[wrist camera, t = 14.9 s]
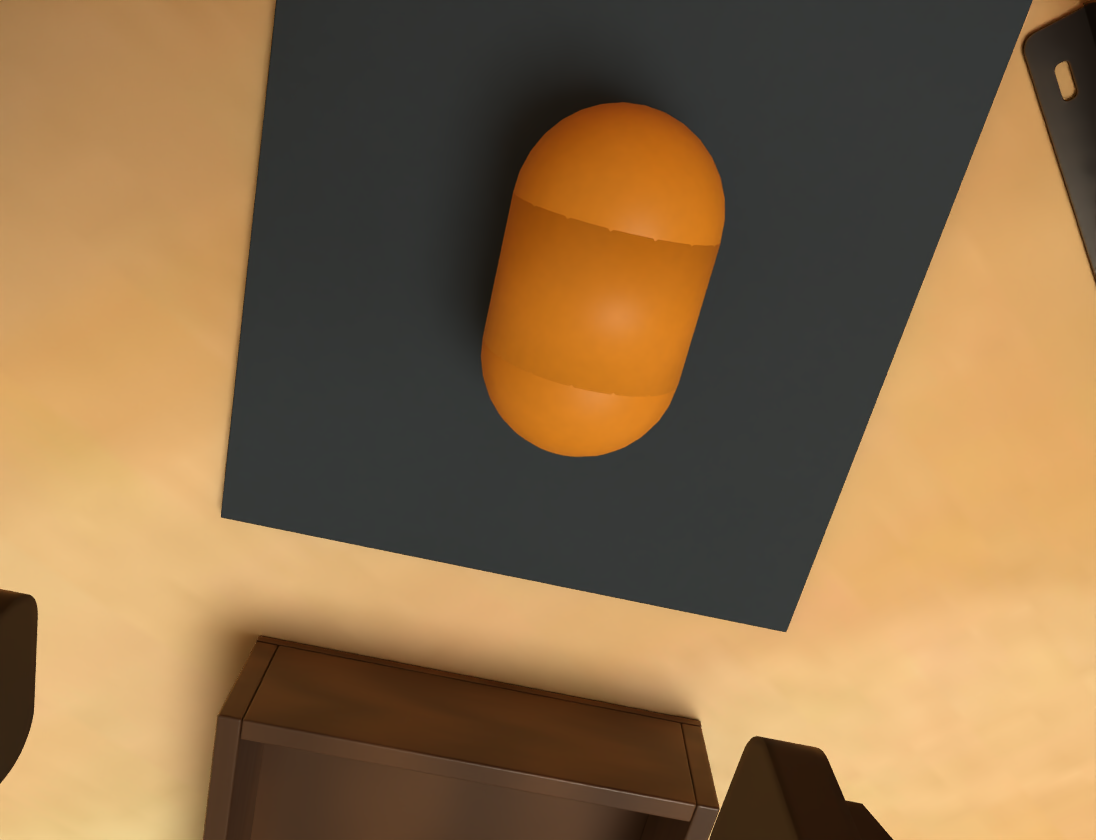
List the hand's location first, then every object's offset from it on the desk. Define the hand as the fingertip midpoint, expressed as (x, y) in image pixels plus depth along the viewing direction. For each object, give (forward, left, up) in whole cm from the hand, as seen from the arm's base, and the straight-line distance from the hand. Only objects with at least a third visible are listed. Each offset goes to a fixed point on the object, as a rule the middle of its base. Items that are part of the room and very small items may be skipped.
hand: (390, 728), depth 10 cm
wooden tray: (+2, -22, -19) cm, 29 cm away
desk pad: (+2, +2, -19) cm, 19 cm away
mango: (+2, +2, -18) cm, 19 cm away
